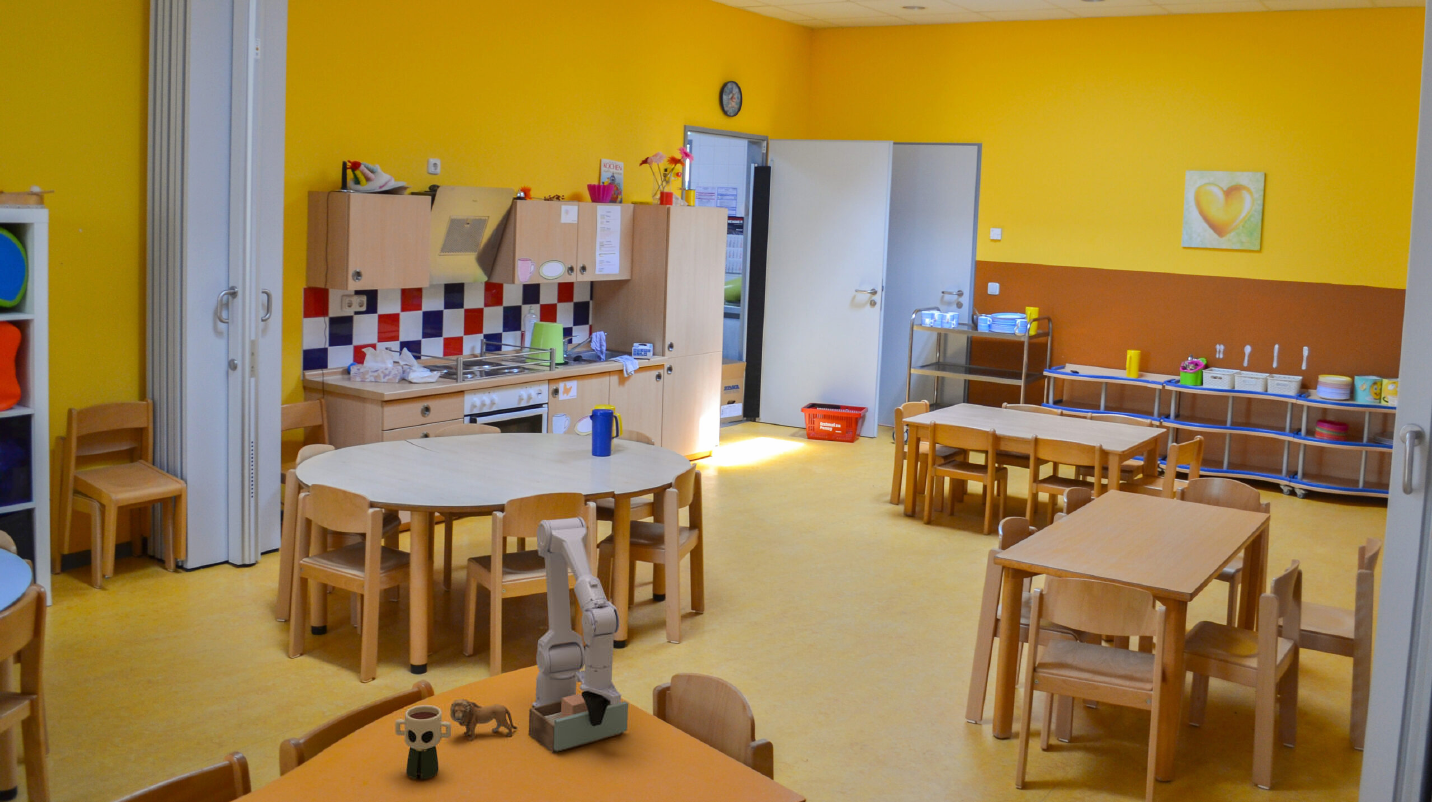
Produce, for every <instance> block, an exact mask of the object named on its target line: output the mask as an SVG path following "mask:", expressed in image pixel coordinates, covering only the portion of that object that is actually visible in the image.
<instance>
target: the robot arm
mask: <svg viewBox="0 0 1432 802" xmlns="http://www.w3.org/2000/svg"><path fill="white" fill-rule="evenodd" d="M587 539H588V527H587V522H586V521H585V519H583V517H581V516H576V517H571V518H561V519H560V518H559V519H558V518H557V519H548V520H547V519H542V520H541V521H540V522H539V524H538V526H537V529H536V541H537V544H536V546H537V553H538V556H540V557H542V558H544V565H545V567H544V568H545V581H546V583H545V585H546V598H547V600H546V601H547V614H548V631H546V633H545V634H543V636H541V637H540V638H539V639H538V641H537V652H536V665H537V668H538V671H539V672H538V673H537V676H536V679H535V680H536V681H535V686H536V687H535V702H532V706H533V707H537V706H541V705H545V704H549V703H553V702H557V701H561V700H562V698H564V697H568V696H572V695H576V694H577V683H580V685H579V689H580V690H581V691H582V692H581V695H582V697H583V699H584V701H585V703H586V706H587V709H588V713H589V718H590V722H591V725H592V726H597V725H601V724H602V721H603V717H604V714H605V711H606V709H607V706H608V705H609V703H611V704H612V705H615V704H619V703H621V702H622V694H621V693H620V692H619V691H618V689H617V687H616V686H615V685H614V683H613V661H614V660H613V659H614V657H613V656H614V637H615V636H614V635H615V634H616V633H618V632H619V629H620V617H619V616H620V615H619V613H618V609H617V607H616V606H615V605H613V604H612V602H611V601H608V598H607V596H606V594H605V591H604V589H603V586H602V583H601V580H600V579H599V578H598V577H597V576H594V575H593V574H592V570H591V566H590V562H589V559H588V555H587V552H586V544H587V542H588V541H587ZM568 567H569V569H570V571H571V573H572V575H573V577H574V579H575V581H576V582H575V585H574V587H573V591H574V594H575V596H576V599H577V601H578V604H579V608H580V610H581V613H582V616H581V628H582V632H583V633H582V634H583V636H581V635H580V633H577V632H576V631H575V630H573V629H572V619H571V618H572V617H571V603H570V585H569V572H568V571H569V570H568ZM584 643H585V646H584ZM583 668H584V670H582V669H583Z"/></svg>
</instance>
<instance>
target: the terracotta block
mask: <svg viewBox="0 0 1432 802" xmlns="http://www.w3.org/2000/svg"><path fill="white" fill-rule="evenodd" d="M586 711H588V709H587V706H586V703H585V701H584V699H583V697H582V693H576V695H572V696H568V697H564V698H562V703H561V718H563V717H567V716H571V715H574V714H578V713H582V712H586Z"/></svg>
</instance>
